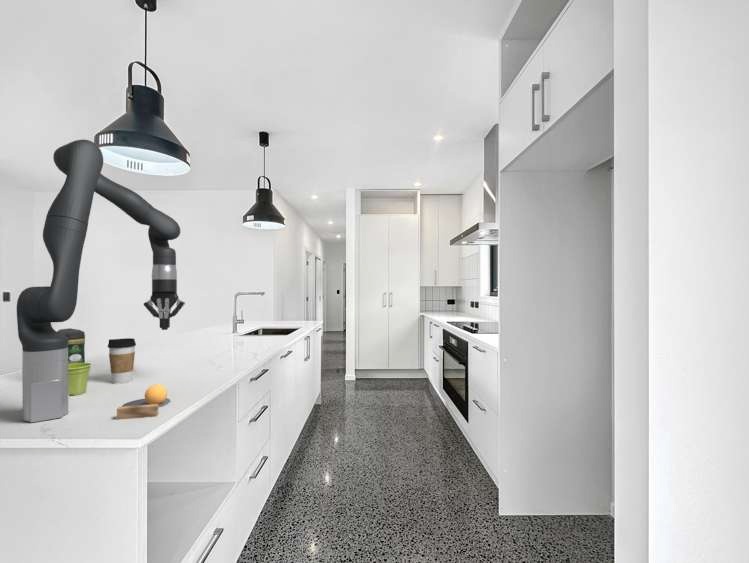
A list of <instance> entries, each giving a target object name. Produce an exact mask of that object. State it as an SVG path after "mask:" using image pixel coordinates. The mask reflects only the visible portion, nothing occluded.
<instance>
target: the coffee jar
mask: <svg viewBox="0 0 749 563" xmlns="http://www.w3.org/2000/svg"><path fill="white" fill-rule="evenodd" d="M56 332H58V333H60V334H62V335H65V336H66V337H67V338H68V364H74V363H86V359H85V357H86V356H85V354H86V352H85V342H86V334H85V331H84V330H81V329H77V328H76V329H75V328H63V329H58V330H57V331H56Z"/></svg>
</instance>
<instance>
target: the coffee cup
mask: <svg viewBox="0 0 749 563" xmlns="http://www.w3.org/2000/svg"><path fill="white" fill-rule="evenodd" d="M136 346H137V344H136V340H135V338H131V337H130V338H128V337H126V338H115V339H114V338H113V339H110V338H109V339H108V344H107V348H108V349H109V350H108V352H109V353H108V358H109V365H110V374H111V383H112V384H113V383H122V384H126V383H125V382H128V383H130V382H129V381H131V382H132V381H133V375H134V374H133V372H134V365H135V355H136V354H135V353H136V352H135V349H136V348H135V347H136Z"/></svg>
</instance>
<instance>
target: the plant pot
mask: <svg viewBox="0 0 749 563" xmlns="http://www.w3.org/2000/svg"><path fill="white" fill-rule="evenodd" d="M92 365H93V363H91V362H85V363H74V364H68V395H69V396H71V395H73V396H77V395H76V394H79V395H82V394H85V393H86V392H87V387H88V380H89V375H90V371H91V366H92ZM84 392H85V393H84ZM81 393H82V394H81Z"/></svg>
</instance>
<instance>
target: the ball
mask: <svg viewBox="0 0 749 563" xmlns="http://www.w3.org/2000/svg"><path fill="white" fill-rule="evenodd" d="M167 396H168V389H167V388H166V386H164V385H162V384H153V385H150V386H149V387H148V388H147V389H146V391H145V393H144V399H145V400H146V401H147V403H149V404H161V403H163V402H164V401H165V399H166V398H168V397H167Z"/></svg>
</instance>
